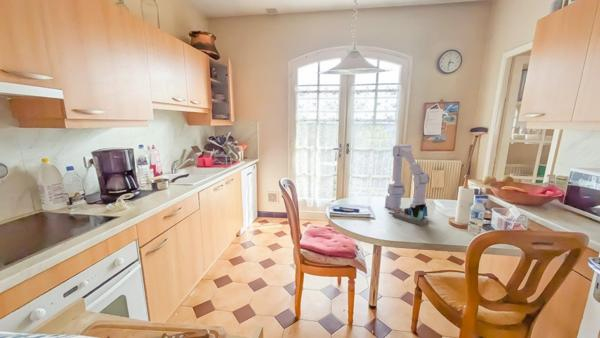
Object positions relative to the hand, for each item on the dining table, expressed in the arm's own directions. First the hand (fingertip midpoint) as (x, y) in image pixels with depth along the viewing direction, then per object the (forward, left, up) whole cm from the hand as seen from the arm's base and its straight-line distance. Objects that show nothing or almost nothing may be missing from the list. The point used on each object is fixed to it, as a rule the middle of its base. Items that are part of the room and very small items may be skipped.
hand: (416, 216), depth 143 cm
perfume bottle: (0, +11, 0) cm, 11 cm away
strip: (-6, 0, -4) cm, 7 cm away
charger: (0, 0, -3) cm, 3 cm away
